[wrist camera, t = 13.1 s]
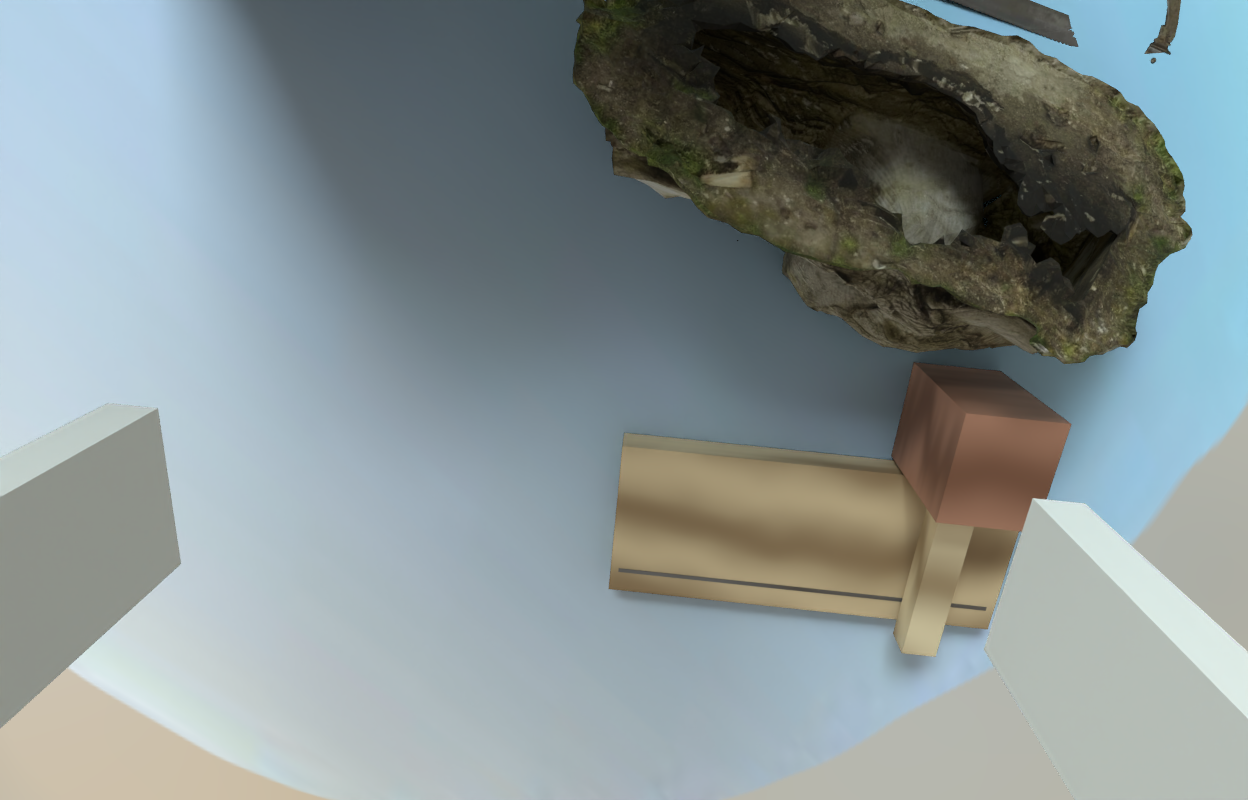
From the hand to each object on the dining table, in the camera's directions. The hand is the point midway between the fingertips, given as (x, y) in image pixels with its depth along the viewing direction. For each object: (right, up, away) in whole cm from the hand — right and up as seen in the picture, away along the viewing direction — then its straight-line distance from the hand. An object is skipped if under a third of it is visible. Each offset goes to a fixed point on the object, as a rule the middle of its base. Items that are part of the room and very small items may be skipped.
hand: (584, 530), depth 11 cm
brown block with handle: (+19, -4, +34) cm, 39 cm away
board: (+12, -6, +35) cm, 38 cm away
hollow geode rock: (+12, +15, +28) cm, 34 cm away
